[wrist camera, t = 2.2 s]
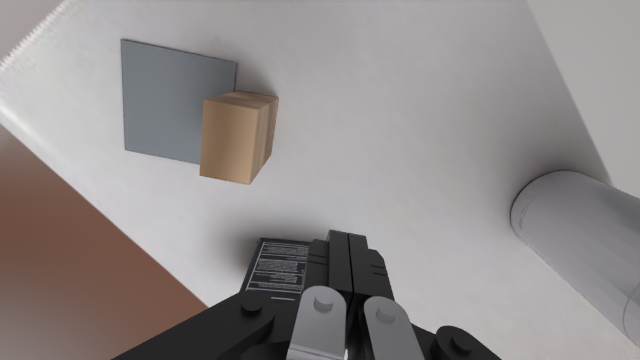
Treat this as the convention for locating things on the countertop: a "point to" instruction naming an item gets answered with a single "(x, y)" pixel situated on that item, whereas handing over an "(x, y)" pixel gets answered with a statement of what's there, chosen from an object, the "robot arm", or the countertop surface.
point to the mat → (169, 98)
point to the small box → (277, 269)
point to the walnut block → (237, 135)
